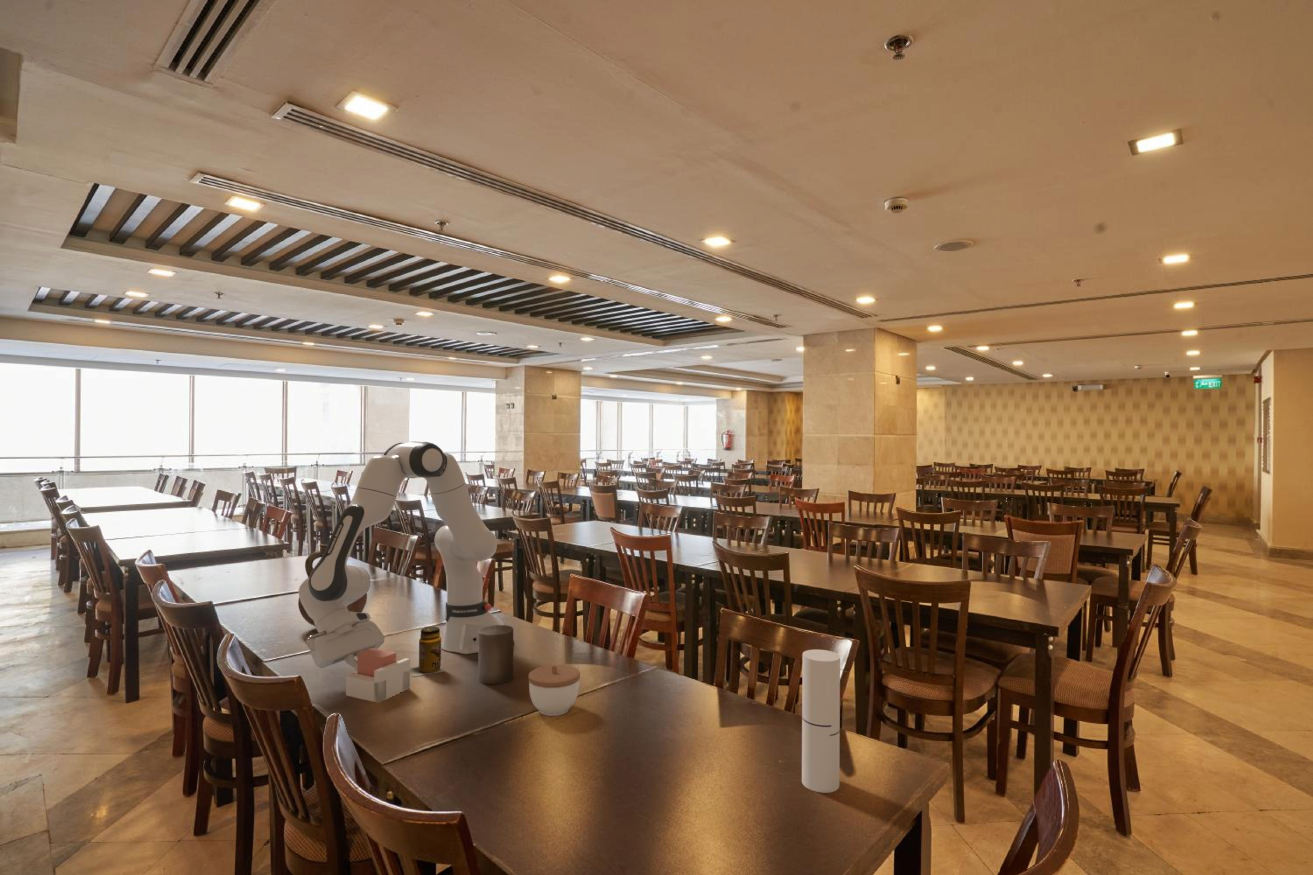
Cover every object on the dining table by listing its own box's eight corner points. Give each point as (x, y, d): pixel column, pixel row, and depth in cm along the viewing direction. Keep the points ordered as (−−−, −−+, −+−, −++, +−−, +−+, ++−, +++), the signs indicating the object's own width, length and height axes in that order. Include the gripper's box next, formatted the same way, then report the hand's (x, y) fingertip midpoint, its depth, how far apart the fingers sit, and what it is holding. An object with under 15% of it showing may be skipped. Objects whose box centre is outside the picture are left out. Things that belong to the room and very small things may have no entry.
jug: (379, 626, 235) (380, 542, 235) (320, 641, 217) (321, 550, 217) (343, 617, 247) (344, 537, 247) (285, 630, 229) (286, 544, 229)
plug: (357, 690, 174) (357, 652, 174) (371, 684, 178) (371, 647, 178) (382, 696, 170) (382, 657, 170) (395, 690, 175) (396, 652, 175)
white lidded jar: (588, 703, 167) (588, 660, 167) (565, 723, 155) (565, 677, 155) (543, 697, 171) (544, 654, 171) (518, 716, 159) (518, 670, 160)
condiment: (444, 671, 190) (445, 629, 190) (414, 677, 185) (414, 634, 185) (438, 664, 196) (438, 623, 196) (408, 669, 191) (408, 628, 191)
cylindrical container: (797, 774, 133) (797, 649, 133) (831, 773, 133) (832, 649, 133) (808, 793, 125) (809, 661, 126) (844, 791, 126) (845, 660, 126)
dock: (345, 695, 172) (346, 664, 172) (378, 681, 181) (378, 652, 181) (378, 702, 167) (378, 671, 167) (409, 688, 176) (410, 658, 177)
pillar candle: (520, 678, 185) (520, 624, 185) (490, 687, 178) (490, 631, 178) (500, 670, 192) (500, 618, 192) (470, 678, 184) (471, 624, 185)
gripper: (309, 630, 170) (335, 673, 166) (373, 611, 189) (398, 650, 185) (297, 644, 172) (323, 688, 168) (361, 625, 191) (386, 664, 187)
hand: (363, 668), depth 177 cm, fingers closed, pressing on plug
